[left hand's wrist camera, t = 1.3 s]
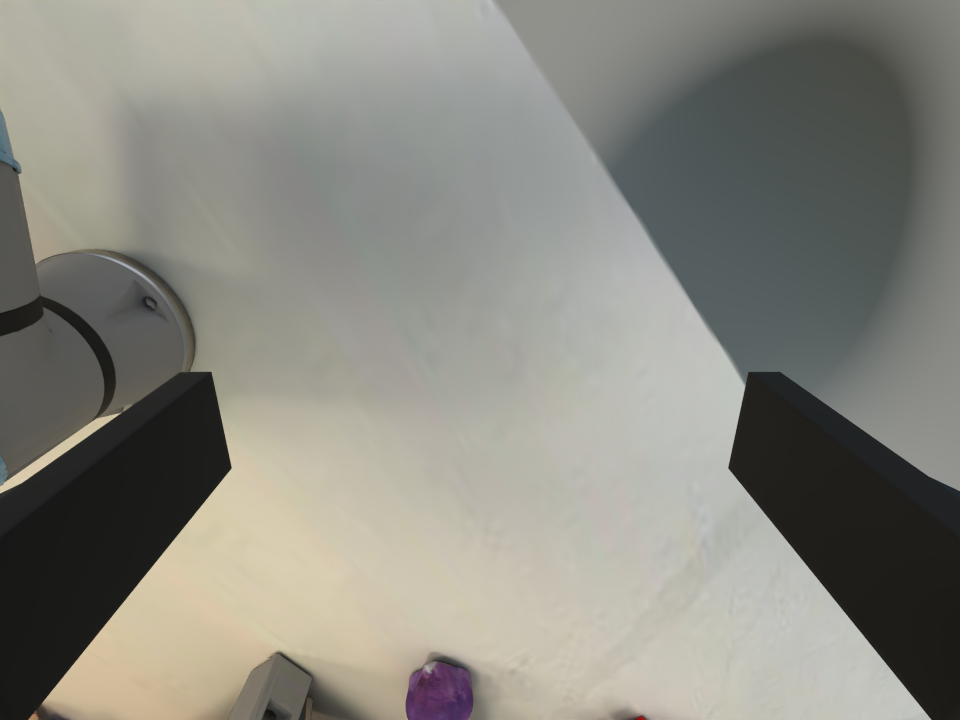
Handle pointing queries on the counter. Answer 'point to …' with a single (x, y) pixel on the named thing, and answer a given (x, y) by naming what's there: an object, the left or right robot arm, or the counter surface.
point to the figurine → (439, 693)
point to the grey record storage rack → (274, 693)
